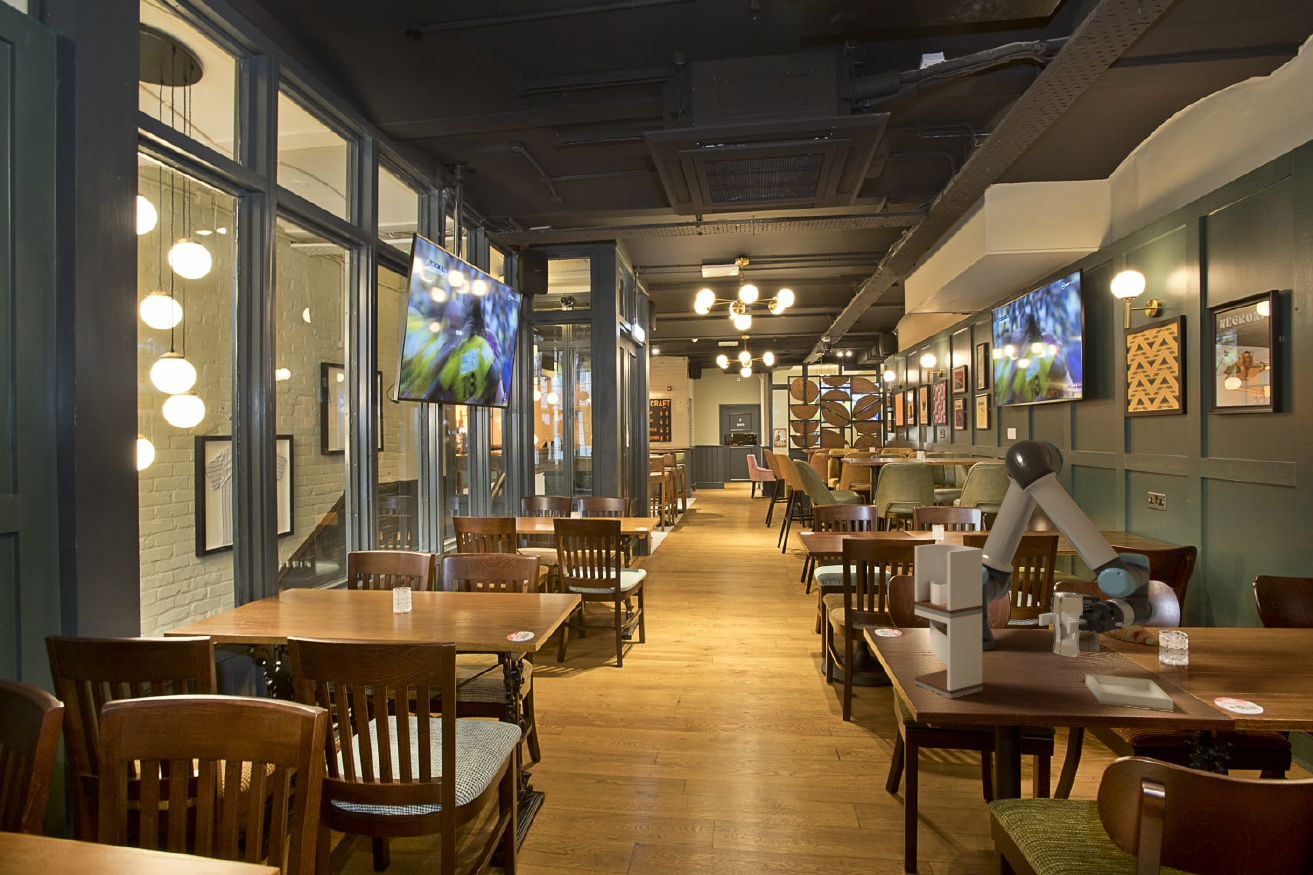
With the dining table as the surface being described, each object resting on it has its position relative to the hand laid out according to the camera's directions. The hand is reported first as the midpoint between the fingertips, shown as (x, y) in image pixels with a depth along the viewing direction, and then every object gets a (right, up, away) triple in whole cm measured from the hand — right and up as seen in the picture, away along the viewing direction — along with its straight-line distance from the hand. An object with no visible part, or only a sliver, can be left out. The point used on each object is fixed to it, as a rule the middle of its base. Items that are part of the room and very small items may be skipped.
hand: (1054, 623), depth 170 cm
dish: (+12, -15, -9) cm, 21 cm away
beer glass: (+4, -8, +2) cm, 10 cm away
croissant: (+45, -16, +41) cm, 63 cm away
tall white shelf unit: (-28, -15, -3) cm, 32 cm away
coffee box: (+25, -16, +30) cm, 42 cm away
